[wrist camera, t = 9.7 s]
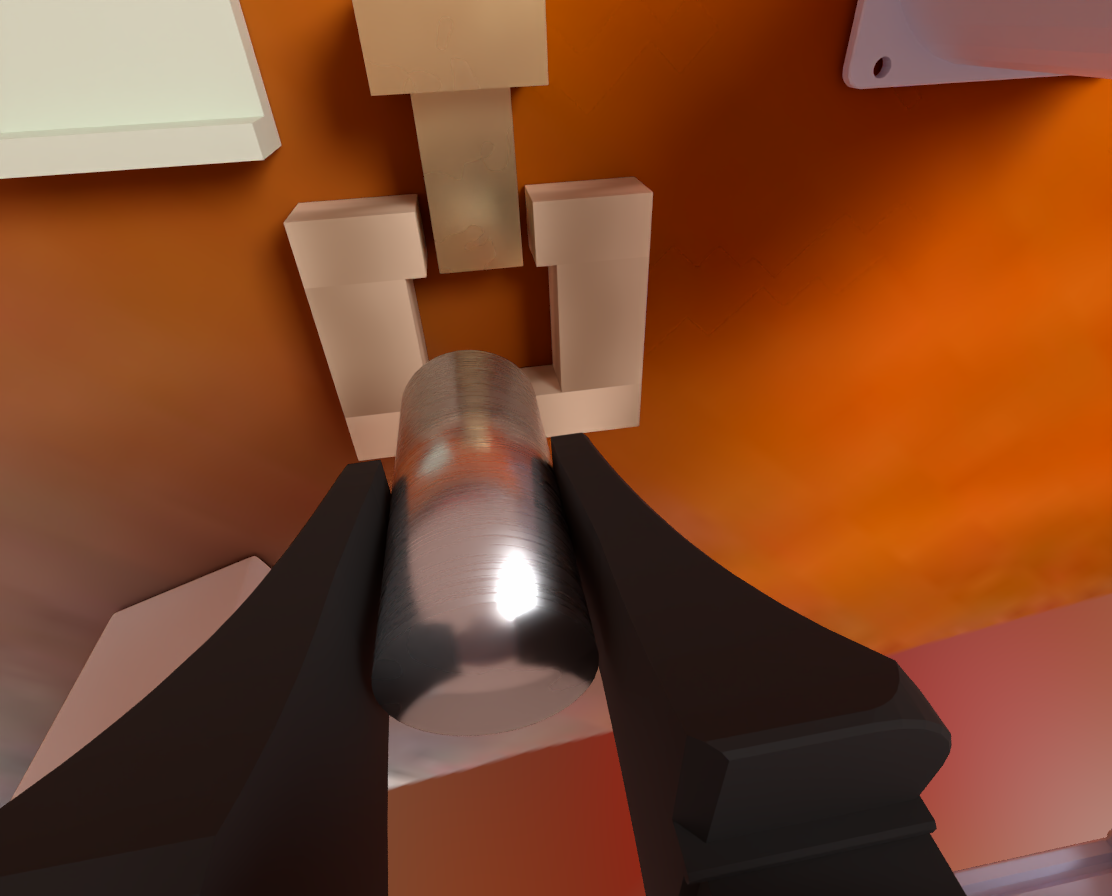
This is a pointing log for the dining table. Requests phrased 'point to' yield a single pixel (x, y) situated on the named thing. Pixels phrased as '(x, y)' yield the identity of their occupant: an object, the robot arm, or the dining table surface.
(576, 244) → the socket block
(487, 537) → the peg
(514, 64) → the block
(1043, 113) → the dining table surface
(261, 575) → the milk carton
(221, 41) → the pad
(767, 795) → the robot arm
